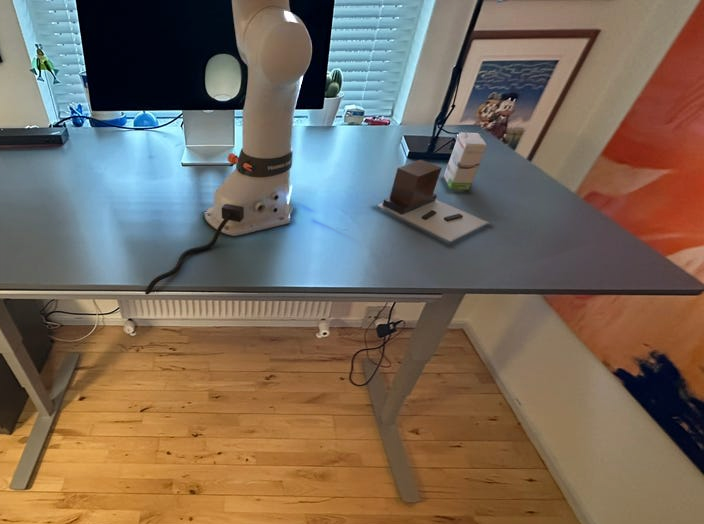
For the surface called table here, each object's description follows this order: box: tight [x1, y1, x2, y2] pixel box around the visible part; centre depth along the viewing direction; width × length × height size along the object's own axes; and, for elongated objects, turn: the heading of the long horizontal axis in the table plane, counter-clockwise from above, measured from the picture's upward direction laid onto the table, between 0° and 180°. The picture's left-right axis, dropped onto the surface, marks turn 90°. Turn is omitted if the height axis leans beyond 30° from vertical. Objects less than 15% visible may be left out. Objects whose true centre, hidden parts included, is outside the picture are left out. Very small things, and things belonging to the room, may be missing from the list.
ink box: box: [443, 131, 488, 191], centre depth 104 cm, size 9×5×12 cm, turn 171°
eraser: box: [382, 159, 443, 215], centre depth 98 cm, size 12×6×8 cm, turn 123°
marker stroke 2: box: [444, 214, 463, 221], centre depth 95 cm, size 4×1×1 cm, turn 111°
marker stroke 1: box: [422, 210, 436, 220], centre depth 96 cm, size 4×1×1 cm, turn 131°
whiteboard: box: [376, 198, 490, 243], centre depth 98 cm, size 14×21×1 cm, turn 33°
